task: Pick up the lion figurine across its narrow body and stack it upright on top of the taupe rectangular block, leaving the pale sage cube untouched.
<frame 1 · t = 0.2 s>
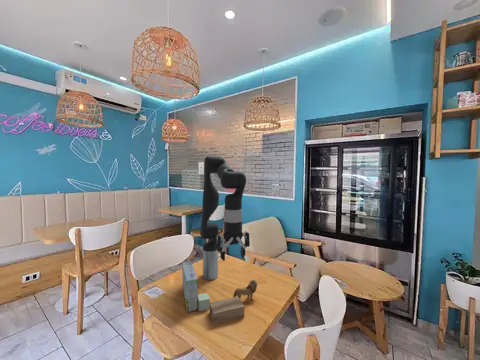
hand: (232, 258, 87), 28 cm above the table, fingers open, 8 cm apart
lion figurine: (244, 299, 106), on the table
sage cube: (203, 307, 100), on the table
taupe rectangular block: (226, 315, 95), on the table
snack box: (189, 299, 107), on the table
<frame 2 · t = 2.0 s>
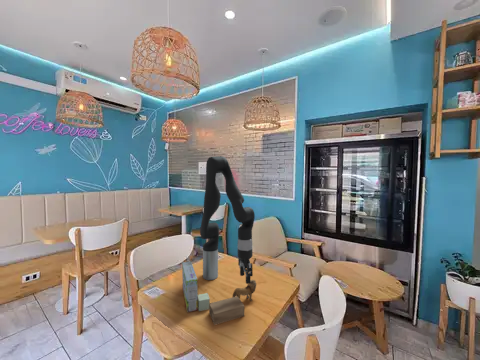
hand: (245, 279, 105), 11 cm above the table, fingers open, 8 cm apart
nothing on the table moved.
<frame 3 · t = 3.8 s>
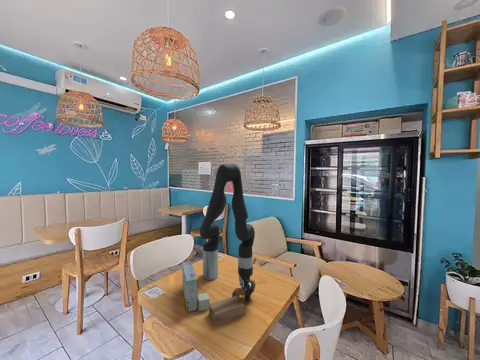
hand: (245, 297, 106), 1 cm above the table, fingers closed on lion figurine, 4 cm apart
lion figurine: (243, 300, 106), on the table, touching gripper
everything else where it was.
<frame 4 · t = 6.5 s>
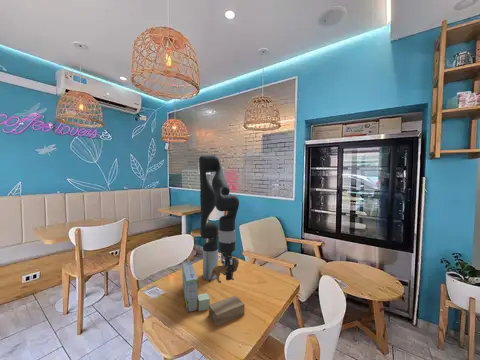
hand: (227, 277, 94), 17 cm above the table, fingers closed on lion figurine, 4 cm apart
lion figurine: (224, 279, 94), point 16 cm above the table, touching gripper
everything else where it was.
when the fingers open (7 cm above the table, at t = 9.2 s): lion figurine drops 1 cm, resting on taupe rectangular block.
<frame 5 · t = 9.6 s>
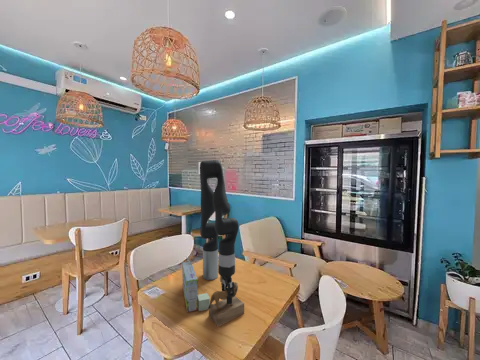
hand: (226, 298, 94), 8 cm above the table, fingers open, 8 cm apart
lion figurine: (223, 304, 95), point 4 cm above the table, touching taupe rectangular block
taupe rectangular block: (226, 315, 95), on the table, touching lion figurine
everything else where it was.
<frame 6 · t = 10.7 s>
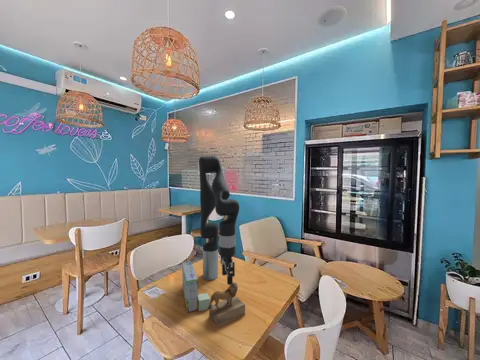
hand: (227, 279, 94), 16 cm above the table, fingers open, 8 cm apart
lion figurine: (223, 305, 94), point 4 cm above the table
taupe rectangular block: (227, 316, 94), on the table
everything else where it was.
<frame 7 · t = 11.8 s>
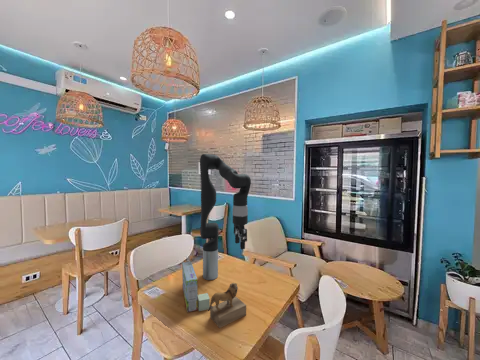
hand: (239, 246, 105), 27 cm above the table, fingers open, 8 cm apart
lion figurine: (223, 306, 94), point 4 cm above the table, touching taupe rectangular block
taupe rectangular block: (228, 317, 94), on the table, touching lion figurine
everything else where it was.
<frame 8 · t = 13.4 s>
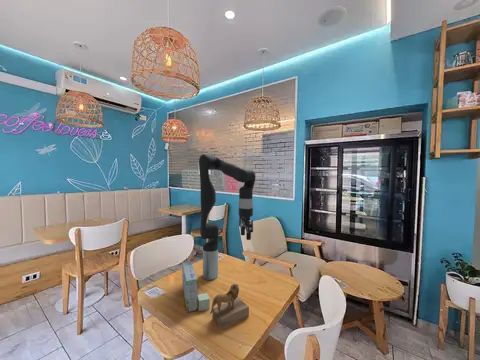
hand: (245, 237, 111), 30 cm above the table, fingers open, 8 cm apart
lion figurine: (225, 307, 93), point 4 cm above the table, touching taupe rectangular block
taupe rectangular block: (230, 318, 93), on the table, touching lion figurine
everything else where it was.
at the end: lion figurine inside the target area on the taupe rectangular block (2.4 cm from its centre), point 4.8 cm above the taupe rectangular block's base; lion figurine tilted 0°; the gripper is holding nothing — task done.
